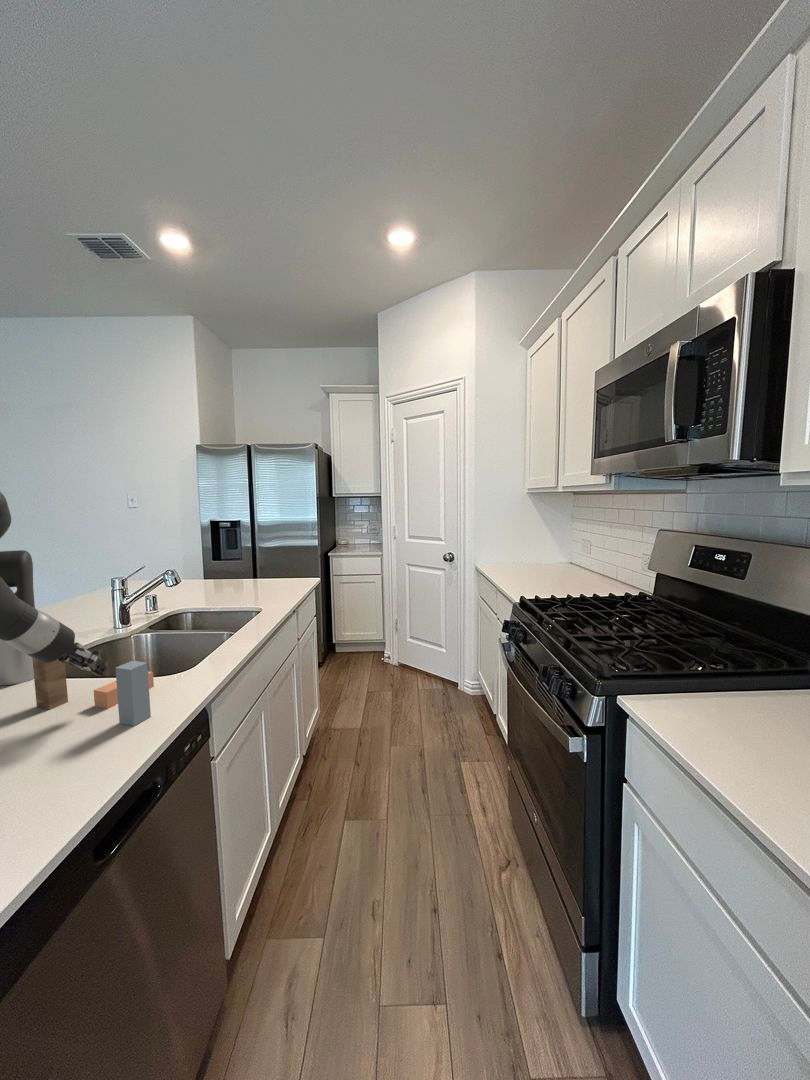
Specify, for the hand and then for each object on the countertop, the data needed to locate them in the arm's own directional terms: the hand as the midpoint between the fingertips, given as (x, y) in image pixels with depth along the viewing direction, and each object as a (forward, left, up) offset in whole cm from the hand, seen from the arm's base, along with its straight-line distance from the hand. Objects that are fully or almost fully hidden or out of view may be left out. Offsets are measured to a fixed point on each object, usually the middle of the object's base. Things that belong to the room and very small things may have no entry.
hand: (102, 671), depth 99 cm
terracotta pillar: (0, -1, -6) cm, 6 cm away
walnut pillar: (-9, -9, -8) cm, 15 cm away
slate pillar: (+12, +3, -8) cm, 15 cm away
